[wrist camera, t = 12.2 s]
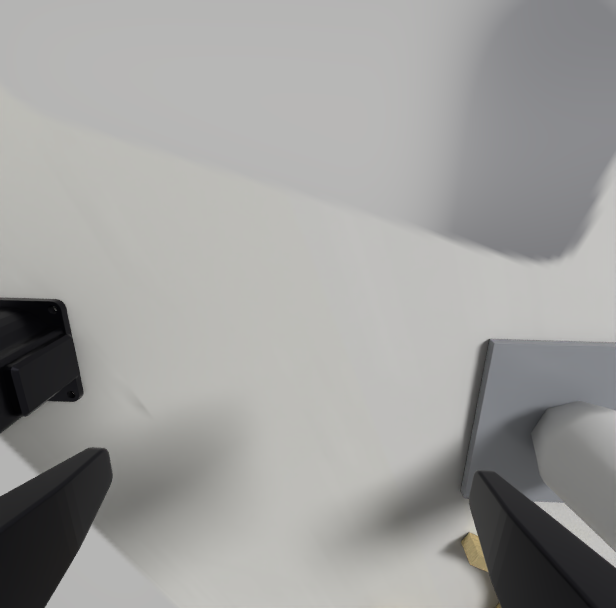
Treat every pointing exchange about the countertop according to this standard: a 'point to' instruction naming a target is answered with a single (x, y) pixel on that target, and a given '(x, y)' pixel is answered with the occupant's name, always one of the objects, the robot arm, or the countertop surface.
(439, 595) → the countertop surface
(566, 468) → the salt shaker
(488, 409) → the coaster
